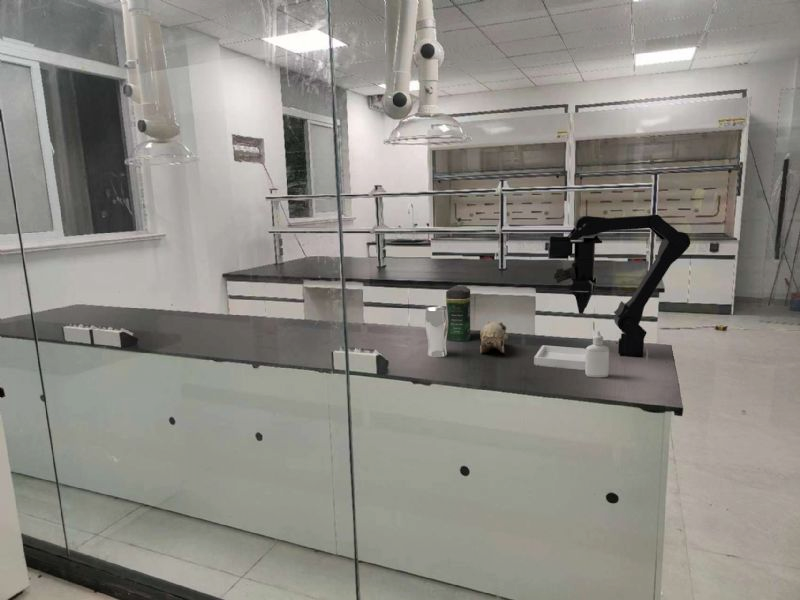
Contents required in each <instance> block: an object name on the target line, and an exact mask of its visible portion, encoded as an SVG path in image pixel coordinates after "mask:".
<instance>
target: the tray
mask: <svg viewBox="0 0 800 600" xmlns="http://www.w3.org/2000/svg"><path fill="white" fill-rule="evenodd" d="M533 365H534V366H538V365H539V367H548V368H555V367H556V369H570V370H579V371H585V367H586V348H584V347H583V348H582V347H568V346H557V345H543V344H542V345H541V346H540V348H539V349H538V351H537V353H536V354H535V355H534V357H533Z"/></svg>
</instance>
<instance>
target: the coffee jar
mask: <svg viewBox="0 0 800 600" xmlns="http://www.w3.org/2000/svg"><path fill="white" fill-rule="evenodd" d="M445 297H446V298H445V305H446V306H445V307H446V308H447V310H448V333H447V339H446V341H449V342H456V343H462V342H463V343H465V342H468V341H469V340H470V339H471V289H470V288H468V286H467V285H455V286H453V287H451V288H448V289H447V290H446V292H445Z"/></svg>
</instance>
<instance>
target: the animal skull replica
mask: <svg viewBox="0 0 800 600" xmlns="http://www.w3.org/2000/svg"><path fill="white" fill-rule="evenodd" d="M479 336H480V340H481V342H480V343H481V344H480V345H479V348H480V349H479V354H480V355H482V354H486V353H488V352H491V351H493V350H494V349H497V350H496V351H497V352H498V351H500V352H499V355H501V354H505V346H504V345H505V340H507V339H509V335H508V334H507V326H506V325H504V324H503V323H502V322H501V321H500V322H497V321H487V322H486V323H485V325H484V326H483V328H481V330H480V334H479Z"/></svg>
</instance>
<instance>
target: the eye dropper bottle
mask: <svg viewBox="0 0 800 600" xmlns="http://www.w3.org/2000/svg"><path fill="white" fill-rule="evenodd" d="M585 349H586V367H585V370H584V371H585V375H586V377H588V378H596V379H597V378H599V379H600V378H607V377H608V376H609V374H610V373H609V371H610V370H609V368H610V367H609V366H610V364H609V363H610V348H609V347H608V346H607V345H604V336H602V335H601V333H600V330H596V333H595V335H593V337H592V344H590V345H588V346H587V347H586V348H585Z"/></svg>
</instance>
